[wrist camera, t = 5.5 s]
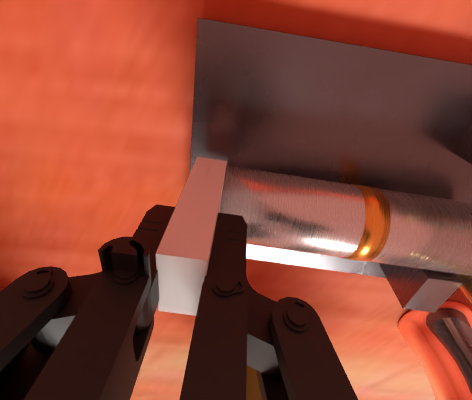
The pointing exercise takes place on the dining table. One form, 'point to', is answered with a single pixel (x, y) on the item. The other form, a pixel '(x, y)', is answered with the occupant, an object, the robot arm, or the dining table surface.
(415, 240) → the tube
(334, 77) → the steam engine
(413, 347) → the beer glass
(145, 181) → the dining table surface
